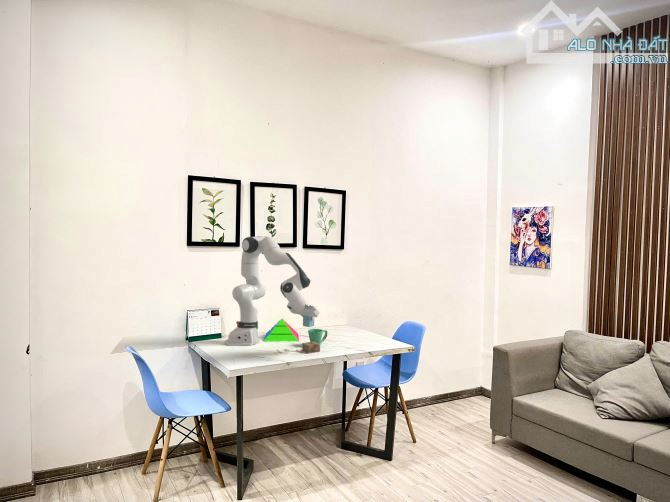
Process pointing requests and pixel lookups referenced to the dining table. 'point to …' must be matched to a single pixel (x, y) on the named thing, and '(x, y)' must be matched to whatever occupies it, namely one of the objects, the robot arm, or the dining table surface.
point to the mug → (317, 335)
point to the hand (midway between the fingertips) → (309, 318)
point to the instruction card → (285, 350)
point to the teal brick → (308, 321)
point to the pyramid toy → (281, 332)
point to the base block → (310, 347)
